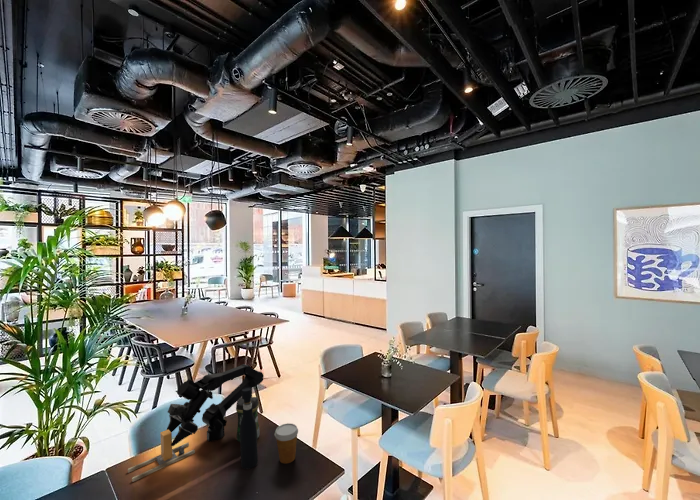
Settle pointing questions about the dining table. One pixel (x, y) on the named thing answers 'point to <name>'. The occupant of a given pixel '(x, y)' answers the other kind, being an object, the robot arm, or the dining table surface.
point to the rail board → (159, 465)
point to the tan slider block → (166, 448)
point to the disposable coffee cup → (286, 442)
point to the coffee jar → (240, 414)
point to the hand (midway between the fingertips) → (168, 441)
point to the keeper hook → (181, 450)
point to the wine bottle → (248, 432)
